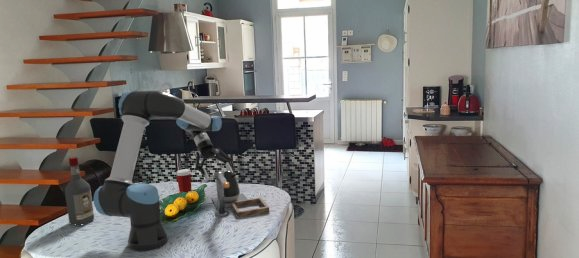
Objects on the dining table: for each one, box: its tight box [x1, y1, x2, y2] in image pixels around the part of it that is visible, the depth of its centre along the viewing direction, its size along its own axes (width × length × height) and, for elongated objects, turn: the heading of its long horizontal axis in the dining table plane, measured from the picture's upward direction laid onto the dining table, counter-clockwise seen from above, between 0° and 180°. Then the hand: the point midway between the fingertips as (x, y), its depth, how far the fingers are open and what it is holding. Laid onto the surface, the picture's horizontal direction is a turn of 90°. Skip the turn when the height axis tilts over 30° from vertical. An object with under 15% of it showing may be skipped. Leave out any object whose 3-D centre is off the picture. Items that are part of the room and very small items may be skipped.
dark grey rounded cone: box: [223, 170, 241, 202], centre depth 226 cm, size 10×10×15 cm
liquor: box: [64, 156, 95, 226], centre depth 208 cm, size 9×9×30 cm
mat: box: [211, 192, 248, 211], centre depth 227 cm, size 16×16×1 cm
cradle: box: [230, 197, 270, 219], centre depth 215 cm, size 15×15×2 cm
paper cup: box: [175, 168, 192, 194], centre depth 236 cm, size 8×8×14 cm
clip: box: [213, 170, 229, 188], centre depth 200 cm, size 21×4×2 cm, turn 18°
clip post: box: [214, 177, 230, 218], centre depth 209 cm, size 6×6×18 cm
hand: (220, 176), depth 232 cm, fingers open, 13 cm apart
